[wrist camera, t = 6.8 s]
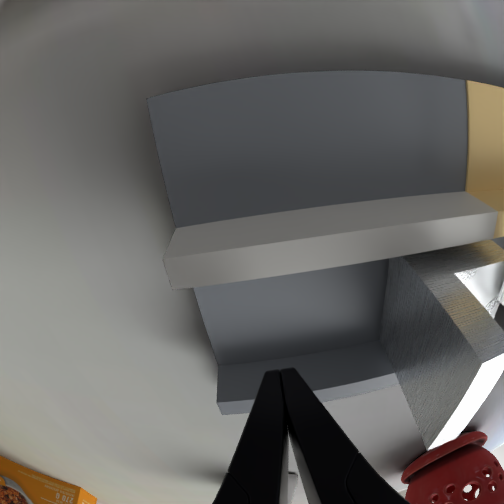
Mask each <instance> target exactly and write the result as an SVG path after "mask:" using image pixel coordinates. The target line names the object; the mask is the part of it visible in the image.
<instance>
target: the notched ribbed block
mask: <svg viewBox="0 0 504 504" xmlns="http://www.w3.org/2000/svg"><path fill="white" fill-rule="evenodd" d="M499 303H501V304H502V305H503V306H504V250H503V249H502V248H501V247H500V246H499V245H497V244H496V243H495V242H494V241H492V240H491V239H489V240H484V241H479V242H474V243H469V244H464V245H459V246H454V247H448V248H443V249H438V250H432V251H427V252H421V253H416V254H410V255H404V256H399V257H393V258H389V265H388V274H387V283H386V292H385V300H384V307H383V314H382V320H381V327H380V333H379V340H380V342H381V344H382V346H383V348H384V350H385V352H386V355H387V357H388V359H389V361H390V363H391V366H392V368H393V370H394V372H395V374H396V377H397V379H398V381H399V383H400V386H401V388H402V390H403V393H404V395H405V397H406V400H407V402H408V404H409V407H410V409H411V412H412V414H413V417H414V419H415V422H416V424H417V427H418V429H419V432H420V434H421V437H422V439H423V442H424V445H425V447H426V450H430V449H432V448H435V447H437V446H440V445H442V444H444V443H447V442H449V441H451V440H454V439H456V438H457V437H458V435H459V434H460V433H461V432H462V430H463V429H464V428H465V427H466V425H467V424H468V423H469V421H470V420H471V419H472V417H473V416H474V414H475V413H476V412H477V410H478V409H479V408H480V406H481V405H482V403H483V402H484V400H485V399H486V397H487V396H488V394H489V393H490V391H491V390H492V388H493V387H494V385H495V383H496V382H497V380H498V379H499V377H500V375H501V374H502V372H503V370H504V331H503V330H502V328H501V327H500V326H499V325H498V323H497V322H496V321H495V320H494V317H495V314H496V311H497V309H498V306H499Z"/></svg>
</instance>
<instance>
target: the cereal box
mask: <svg viewBox="0 0 504 504" xmlns="http://www.w3.org/2000/svg"><path fill="white" fill-rule="evenodd" d="M96 501H97V498H95V497H94V496H92V495H91V494H90V493H88V492H87V491H85V490H84V489H83V488H81V487H78V486H75V485H72V484H69V483H66V482H63V481H60V480H57V479H54V478H51V477H49V476H46V475H43V474H41V473H38V472H36V471H33V470H31V469H28V468H26V467H24V466H21V465H19V464H17V463H15V462H13V461H10V460H8V459H6V458H4V457H2V456H0V504H96Z"/></svg>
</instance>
